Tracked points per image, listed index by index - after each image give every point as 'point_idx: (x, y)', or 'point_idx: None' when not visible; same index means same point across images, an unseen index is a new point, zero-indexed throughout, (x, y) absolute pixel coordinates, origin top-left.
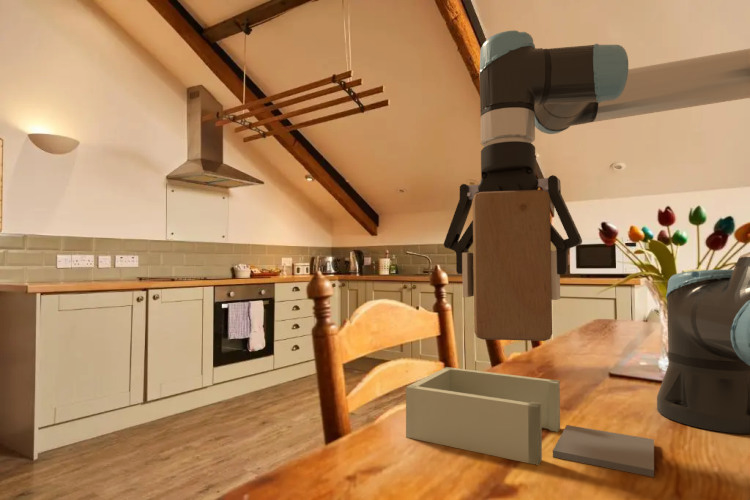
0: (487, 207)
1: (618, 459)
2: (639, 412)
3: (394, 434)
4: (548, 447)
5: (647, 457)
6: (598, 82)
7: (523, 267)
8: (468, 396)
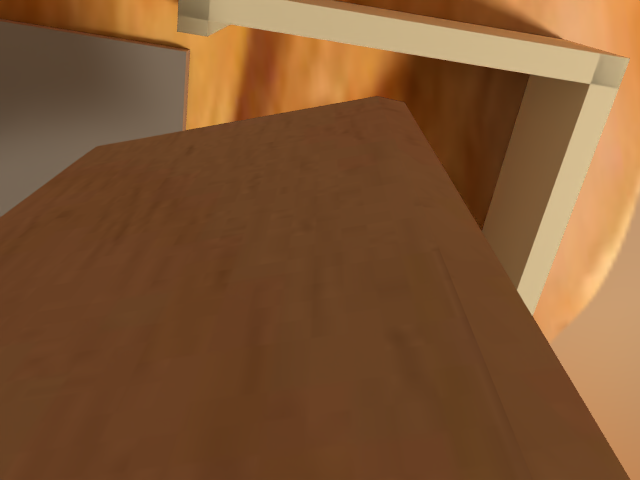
0: None
1: (42, 52)
2: None
3: (599, 49)
4: (206, 110)
5: None
6: None
7: (42, 284)
8: (404, 20)
